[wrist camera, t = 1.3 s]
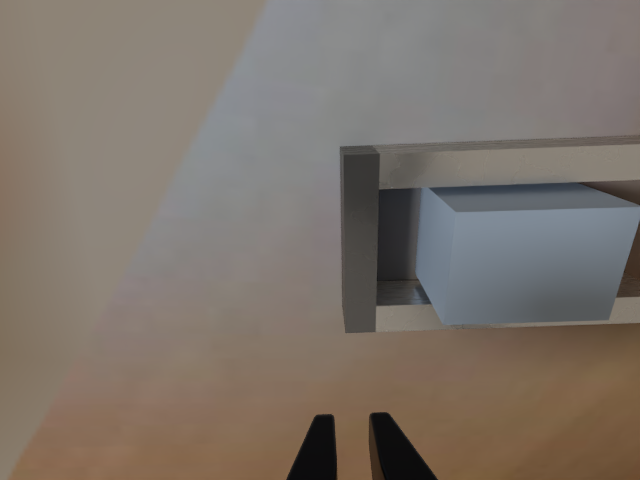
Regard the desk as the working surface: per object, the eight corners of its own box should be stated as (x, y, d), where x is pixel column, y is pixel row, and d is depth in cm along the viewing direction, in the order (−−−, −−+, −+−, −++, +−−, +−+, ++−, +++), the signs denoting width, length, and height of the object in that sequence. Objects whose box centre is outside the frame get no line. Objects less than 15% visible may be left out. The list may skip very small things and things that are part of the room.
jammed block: (562, 177, 19) (644, 206, 14) (542, 267, 20) (608, 320, 16) (421, 181, 19) (456, 212, 14) (414, 271, 20) (442, 324, 16)
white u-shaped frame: (667, 134, 18) (720, 141, 15) (618, 296, 21) (656, 322, 19) (339, 146, 18) (343, 155, 15) (342, 306, 21) (345, 333, 19)
